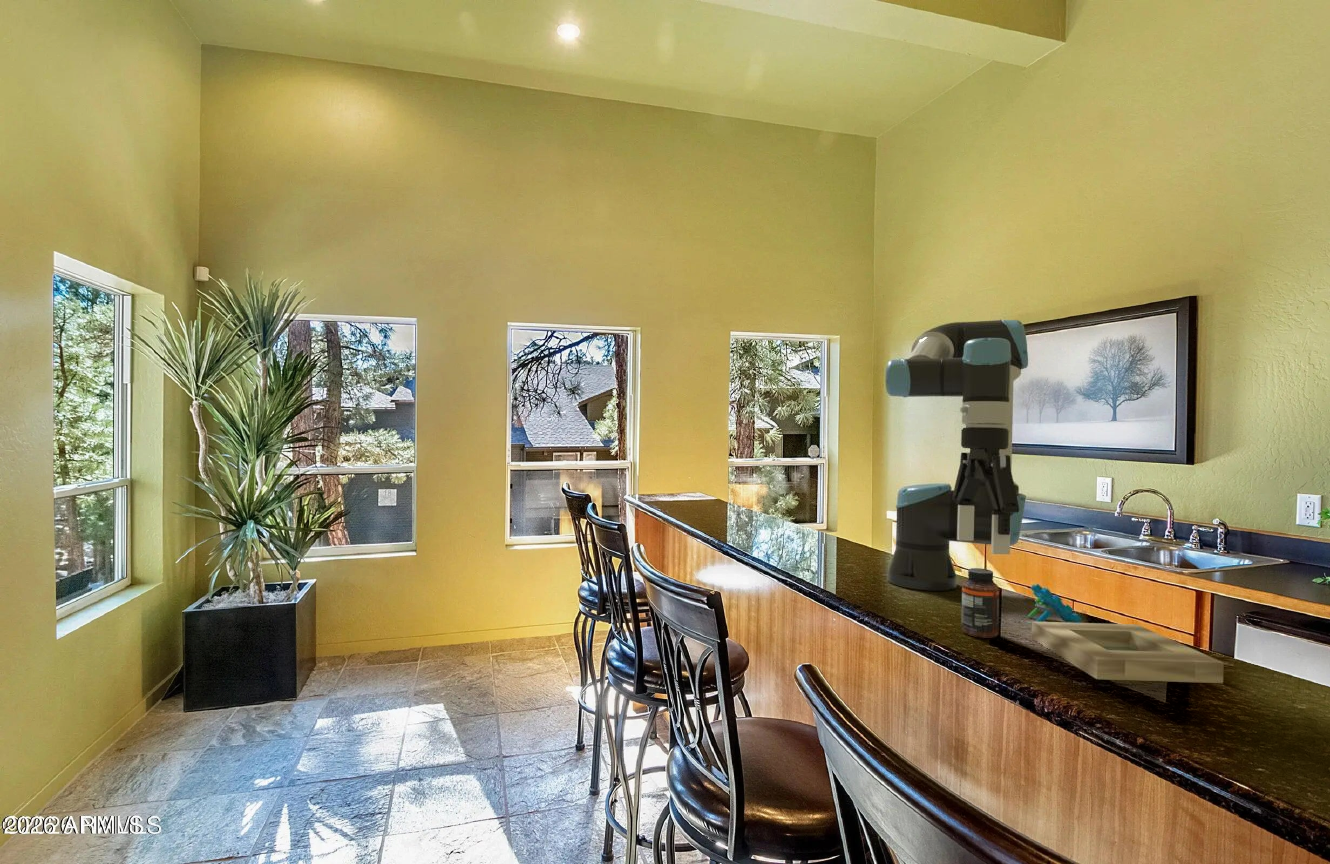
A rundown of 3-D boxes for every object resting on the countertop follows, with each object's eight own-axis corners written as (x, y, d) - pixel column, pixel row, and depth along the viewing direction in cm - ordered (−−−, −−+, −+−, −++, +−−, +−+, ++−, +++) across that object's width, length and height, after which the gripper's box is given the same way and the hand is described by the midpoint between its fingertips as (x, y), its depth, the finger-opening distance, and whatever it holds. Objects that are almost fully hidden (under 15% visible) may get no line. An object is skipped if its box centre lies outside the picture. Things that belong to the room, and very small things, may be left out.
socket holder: (1031, 638, 113) (1031, 621, 113) (1137, 641, 113) (1137, 624, 113) (1096, 679, 95) (1097, 658, 95) (1223, 683, 95) (1223, 662, 95)
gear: (1095, 626, 116) (1052, 584, 117) (1071, 649, 115) (1028, 606, 117) (1064, 617, 126) (1025, 578, 128) (1042, 638, 126) (1003, 599, 128)
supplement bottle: (988, 629, 118) (990, 567, 118) (1005, 639, 112) (1006, 574, 112) (955, 628, 118) (957, 566, 118) (970, 638, 112) (971, 573, 112)
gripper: (936, 426, 128) (933, 534, 128) (997, 425, 103) (993, 559, 103) (975, 427, 127) (972, 536, 127) (1045, 426, 102) (1042, 561, 102)
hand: (981, 546), depth 115 cm, fingers open, 13 cm apart
